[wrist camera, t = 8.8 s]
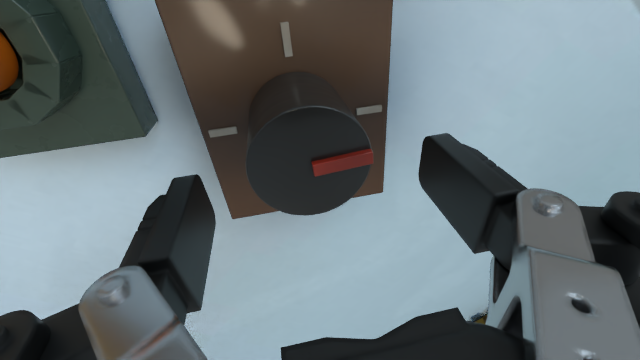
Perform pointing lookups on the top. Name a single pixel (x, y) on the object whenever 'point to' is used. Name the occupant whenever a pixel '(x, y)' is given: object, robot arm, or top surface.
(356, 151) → the dial knob
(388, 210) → the top surface
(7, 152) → the button box
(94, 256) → the top surface
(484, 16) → the top surface
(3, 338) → the robot arm
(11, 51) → the button
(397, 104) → the top surface
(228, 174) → the dial base block
